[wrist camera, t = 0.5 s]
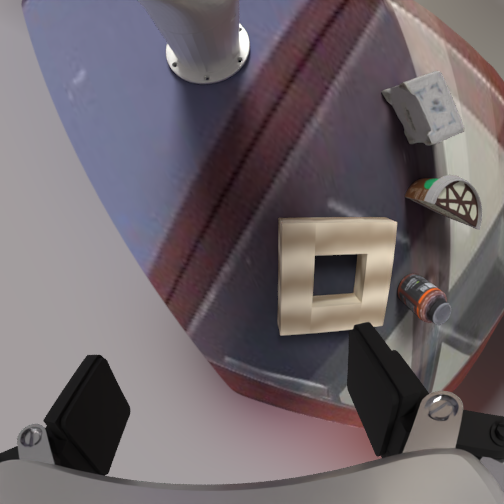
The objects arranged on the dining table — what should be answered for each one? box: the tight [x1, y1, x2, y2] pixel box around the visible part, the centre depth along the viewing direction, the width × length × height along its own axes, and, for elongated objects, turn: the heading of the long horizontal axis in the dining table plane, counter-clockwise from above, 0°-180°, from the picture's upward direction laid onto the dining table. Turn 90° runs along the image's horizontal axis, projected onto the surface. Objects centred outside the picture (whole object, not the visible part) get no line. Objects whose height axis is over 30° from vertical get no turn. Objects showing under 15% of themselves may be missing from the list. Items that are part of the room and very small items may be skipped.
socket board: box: [278, 217, 397, 335], centre depth 45 cm, size 18×18×4 cm
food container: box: [405, 175, 482, 230], centre depth 39 cm, size 12×6×10 cm, turn 73°
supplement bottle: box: [398, 273, 451, 325], centre depth 43 cm, size 6×6×11 cm
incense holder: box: [382, 71, 464, 146], centre depth 35 cm, size 10×8×10 cm
